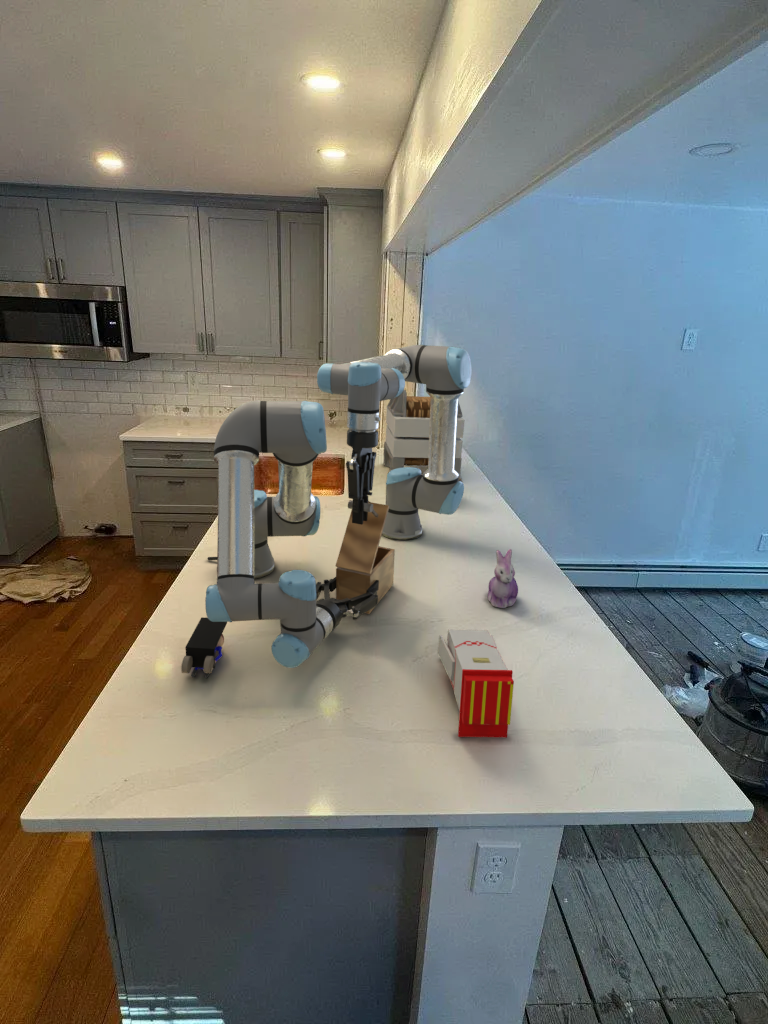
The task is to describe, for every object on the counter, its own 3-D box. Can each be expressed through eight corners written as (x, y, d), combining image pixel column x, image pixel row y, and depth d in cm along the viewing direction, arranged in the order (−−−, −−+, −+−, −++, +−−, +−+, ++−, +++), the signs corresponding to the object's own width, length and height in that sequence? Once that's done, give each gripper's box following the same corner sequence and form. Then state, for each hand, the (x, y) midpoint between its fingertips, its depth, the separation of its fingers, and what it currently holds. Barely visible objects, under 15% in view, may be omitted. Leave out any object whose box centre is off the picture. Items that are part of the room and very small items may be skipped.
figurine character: (214, 689, 118) (231, 642, 131) (211, 660, 114) (228, 615, 128) (182, 688, 118) (201, 641, 131) (177, 659, 114) (198, 614, 128)
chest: (362, 577, 165) (363, 543, 161) (393, 584, 162) (394, 549, 158) (335, 606, 150) (336, 568, 146) (369, 614, 147) (370, 576, 143)
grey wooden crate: (382, 463, 289) (386, 382, 275) (445, 464, 293) (451, 384, 279) (390, 482, 257) (394, 392, 243) (460, 483, 261) (468, 394, 247)
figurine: (500, 612, 150) (506, 561, 145) (477, 595, 159) (482, 546, 153) (527, 605, 154) (535, 555, 149) (504, 589, 163) (510, 541, 158)
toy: (488, 613, 130) (523, 677, 101) (484, 667, 133) (517, 744, 104) (435, 612, 130) (455, 676, 101) (432, 666, 133) (451, 743, 103)
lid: (355, 500, 151) (345, 489, 143) (389, 506, 148) (380, 495, 140) (336, 567, 146) (324, 558, 139) (370, 574, 143) (360, 566, 135)
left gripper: (278, 623, 135) (321, 585, 155) (363, 646, 128) (398, 602, 147) (277, 595, 132) (321, 560, 152) (364, 616, 125) (399, 576, 145)
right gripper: (364, 437, 127) (361, 534, 135) (388, 426, 141) (384, 515, 149) (334, 433, 130) (333, 528, 138) (361, 422, 143) (358, 510, 151)
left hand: (359, 580), depth 150 cm, fingers closed on chest, 10 cm apart
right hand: (359, 521), depth 143 cm, fingers closed on lid, 2 cm apart
